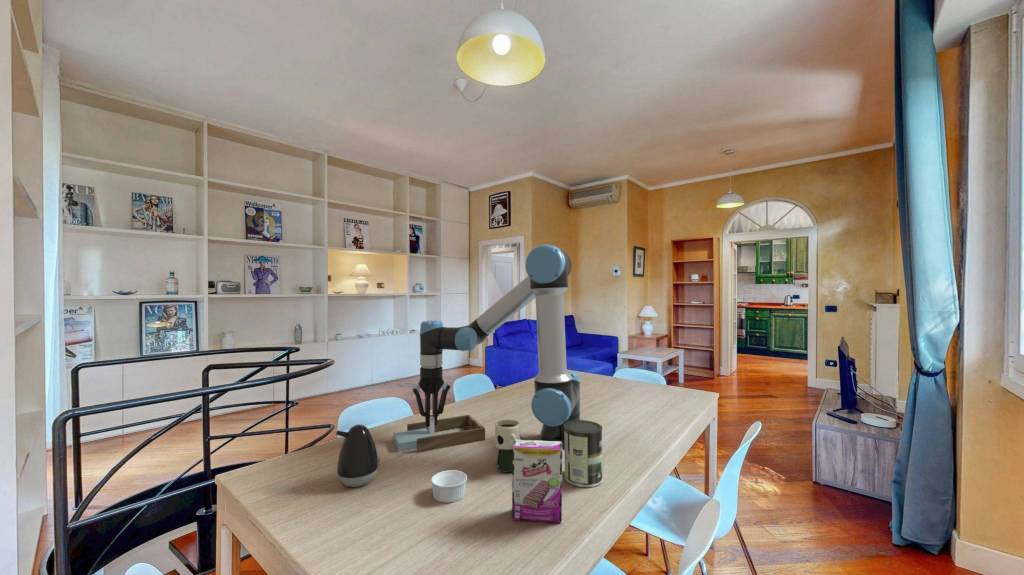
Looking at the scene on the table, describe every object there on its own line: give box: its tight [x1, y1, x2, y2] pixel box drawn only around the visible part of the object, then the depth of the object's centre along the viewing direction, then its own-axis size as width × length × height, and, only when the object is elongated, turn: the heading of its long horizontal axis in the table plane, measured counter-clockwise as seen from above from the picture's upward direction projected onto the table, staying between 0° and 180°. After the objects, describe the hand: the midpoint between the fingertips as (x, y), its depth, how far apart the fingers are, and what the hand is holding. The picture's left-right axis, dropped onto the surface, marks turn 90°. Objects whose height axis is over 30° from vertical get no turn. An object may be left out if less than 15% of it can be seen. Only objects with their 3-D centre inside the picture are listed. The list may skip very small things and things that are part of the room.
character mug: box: [494, 419, 521, 473], centre depth 111 cm, size 11×7×13 cm, turn 22°
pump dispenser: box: [335, 424, 379, 488], centre depth 104 cm, size 10×10×15 cm
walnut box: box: [406, 414, 486, 453], centre depth 135 cm, size 16×23×4 cm
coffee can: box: [564, 419, 604, 488], centre depth 105 cm, size 10×10×14 cm
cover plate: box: [393, 428, 431, 453], centre depth 130 cm, size 10×11×3 cm
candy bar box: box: [511, 439, 563, 524], centre depth 88 cm, size 11×5×16 cm, turn 84°
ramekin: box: [430, 469, 468, 504], centre depth 97 cm, size 9×9×4 cm
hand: (431, 435), depth 133 cm, fingers closed
